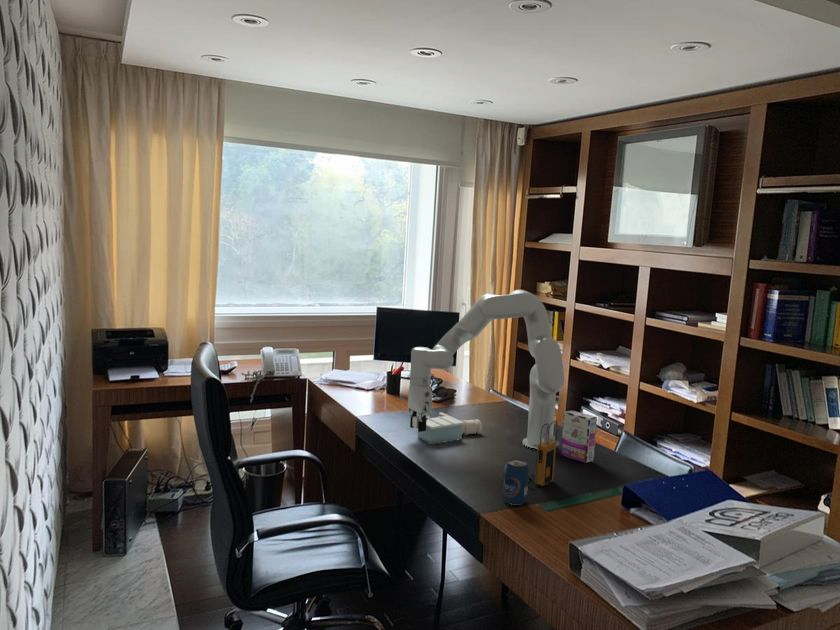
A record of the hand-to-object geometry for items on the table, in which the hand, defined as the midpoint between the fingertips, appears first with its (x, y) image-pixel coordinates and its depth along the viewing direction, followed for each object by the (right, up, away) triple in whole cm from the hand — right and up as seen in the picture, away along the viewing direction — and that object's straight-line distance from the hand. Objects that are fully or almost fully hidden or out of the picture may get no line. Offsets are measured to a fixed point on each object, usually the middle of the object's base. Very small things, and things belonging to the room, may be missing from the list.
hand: (418, 428), depth 232 cm
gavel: (+15, -3, +25) cm, 30 cm away
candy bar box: (+56, -9, -9) cm, 58 cm away
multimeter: (+37, -11, -31) cm, 50 cm away
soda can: (+28, -13, -49) cm, 58 cm away
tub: (+8, -5, +6) cm, 11 cm away
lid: (+7, +1, +4) cm, 8 cm away
